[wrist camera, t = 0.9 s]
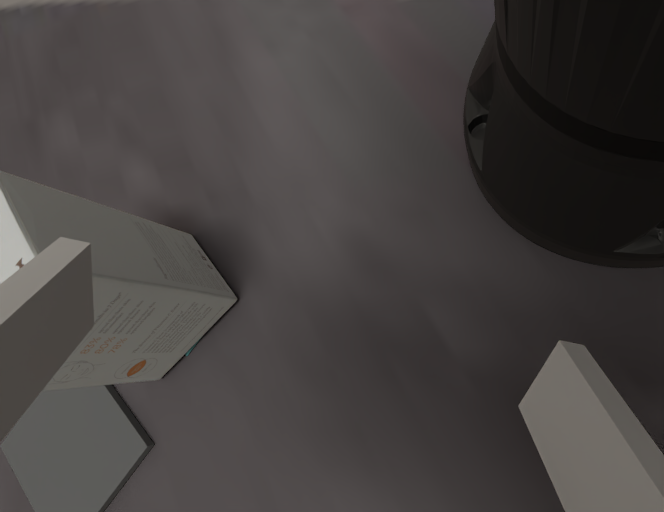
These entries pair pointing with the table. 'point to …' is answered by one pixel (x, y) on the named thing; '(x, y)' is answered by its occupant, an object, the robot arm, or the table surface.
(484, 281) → the table surface
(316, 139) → the table surface
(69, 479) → the gray slab
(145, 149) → the table surface
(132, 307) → the small box
